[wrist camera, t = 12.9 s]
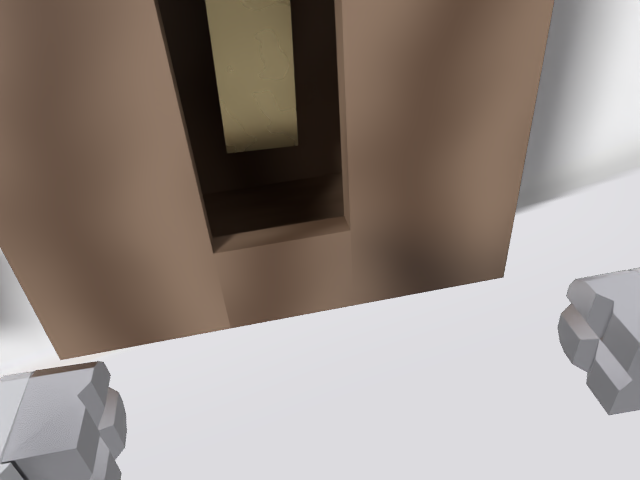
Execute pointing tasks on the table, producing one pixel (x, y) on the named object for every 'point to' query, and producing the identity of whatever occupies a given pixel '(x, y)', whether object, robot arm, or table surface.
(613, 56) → the table surface
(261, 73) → the tan rectangular block
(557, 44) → the table surface
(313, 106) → the slot box
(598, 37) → the table surface
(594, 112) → the table surface
